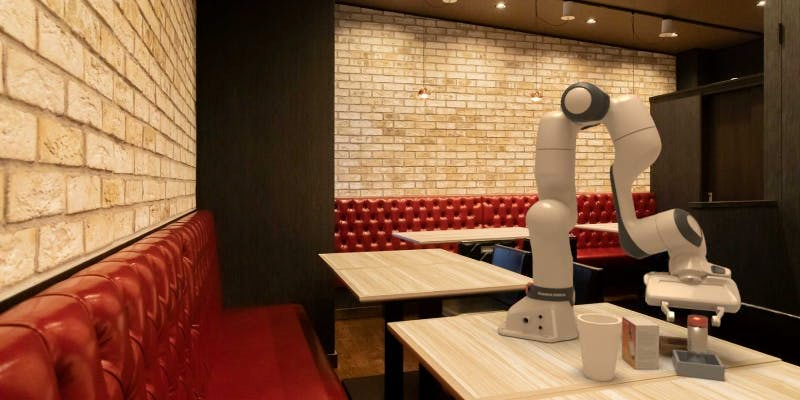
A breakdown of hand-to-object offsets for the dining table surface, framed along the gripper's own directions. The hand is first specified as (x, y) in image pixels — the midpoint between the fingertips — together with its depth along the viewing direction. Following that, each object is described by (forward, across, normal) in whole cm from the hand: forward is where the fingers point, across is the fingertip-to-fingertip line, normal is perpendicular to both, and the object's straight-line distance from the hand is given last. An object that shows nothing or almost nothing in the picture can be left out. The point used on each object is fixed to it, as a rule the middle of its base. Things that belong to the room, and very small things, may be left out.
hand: (693, 322), depth 123 cm
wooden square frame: (0, -1, +15) cm, 15 cm away
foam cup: (+18, -20, -2) cm, 27 cm away
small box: (+9, -11, +6) cm, 16 cm away
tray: (+10, +1, +5) cm, 11 cm away
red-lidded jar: (+9, +1, +5) cm, 10 cm away
